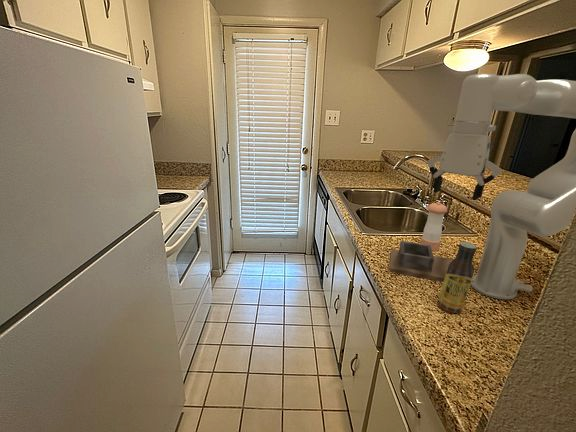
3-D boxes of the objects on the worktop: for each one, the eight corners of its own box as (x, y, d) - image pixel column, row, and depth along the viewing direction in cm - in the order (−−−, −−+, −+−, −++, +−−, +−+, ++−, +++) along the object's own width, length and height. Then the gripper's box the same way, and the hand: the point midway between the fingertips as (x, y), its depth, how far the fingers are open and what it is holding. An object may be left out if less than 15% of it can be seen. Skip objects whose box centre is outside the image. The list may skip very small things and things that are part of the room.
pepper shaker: (429, 251, 116) (438, 205, 110) (416, 243, 123) (424, 200, 116) (443, 249, 118) (453, 204, 112) (429, 241, 125) (438, 199, 118)
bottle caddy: (452, 262, 108) (456, 246, 105) (460, 285, 93) (465, 267, 91) (390, 252, 115) (393, 237, 112) (389, 271, 100) (391, 255, 98)
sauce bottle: (438, 311, 81) (453, 246, 74) (436, 298, 86) (450, 237, 80) (465, 317, 79) (483, 251, 72) (461, 303, 84) (478, 241, 78)
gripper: (515, 131, 69) (496, 200, 75) (439, 127, 81) (428, 187, 87) (508, 132, 64) (488, 205, 70) (428, 127, 76) (417, 191, 82)
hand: (455, 195), depth 78 cm, fingers open, 9 cm apart
